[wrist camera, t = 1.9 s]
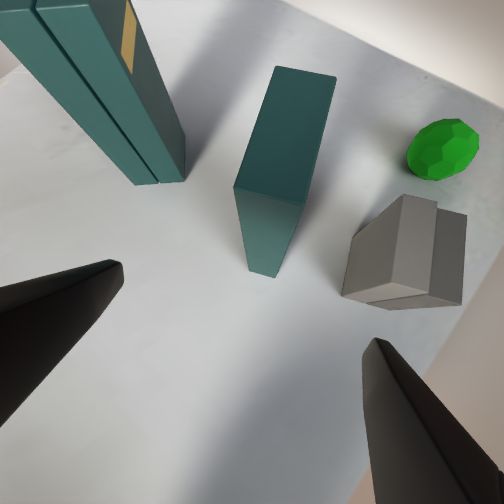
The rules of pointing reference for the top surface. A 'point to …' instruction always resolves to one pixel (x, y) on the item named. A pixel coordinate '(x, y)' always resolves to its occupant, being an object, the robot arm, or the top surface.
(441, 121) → the polyhedron
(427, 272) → the grey books
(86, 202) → the top surface
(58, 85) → the teal books
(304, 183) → the teal book
